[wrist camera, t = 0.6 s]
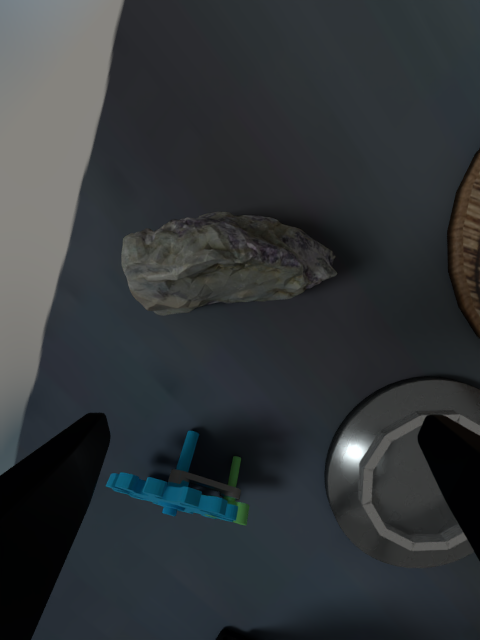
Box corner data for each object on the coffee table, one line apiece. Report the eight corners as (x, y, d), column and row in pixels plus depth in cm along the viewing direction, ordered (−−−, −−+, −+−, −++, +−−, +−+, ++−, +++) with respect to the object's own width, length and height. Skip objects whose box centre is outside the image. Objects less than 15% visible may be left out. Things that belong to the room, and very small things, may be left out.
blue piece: (99, 497, 22) (104, 493, 15) (131, 426, 26) (148, 395, 19) (218, 530, 25) (274, 541, 17) (232, 460, 29) (283, 445, 21)
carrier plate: (444, 586, 26) (460, 607, 25) (288, 507, 25) (292, 524, 23) (552, 433, 25) (577, 444, 23) (392, 340, 23) (406, 344, 22)
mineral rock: (329, 253, 23) (407, 225, 13) (269, 365, 23) (298, 421, 13) (190, 178, 22) (155, 81, 12) (133, 297, 22) (55, 304, 12)
